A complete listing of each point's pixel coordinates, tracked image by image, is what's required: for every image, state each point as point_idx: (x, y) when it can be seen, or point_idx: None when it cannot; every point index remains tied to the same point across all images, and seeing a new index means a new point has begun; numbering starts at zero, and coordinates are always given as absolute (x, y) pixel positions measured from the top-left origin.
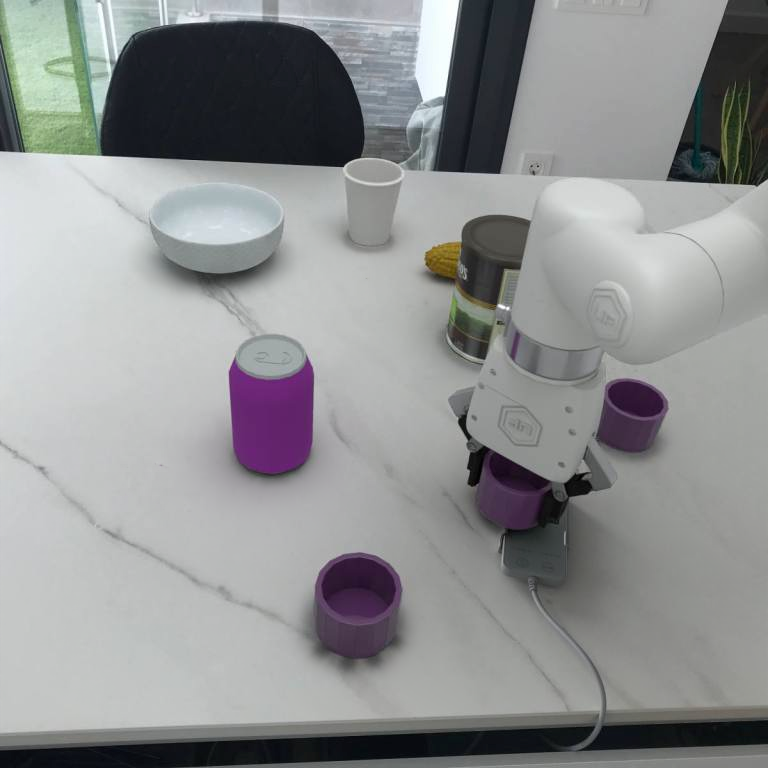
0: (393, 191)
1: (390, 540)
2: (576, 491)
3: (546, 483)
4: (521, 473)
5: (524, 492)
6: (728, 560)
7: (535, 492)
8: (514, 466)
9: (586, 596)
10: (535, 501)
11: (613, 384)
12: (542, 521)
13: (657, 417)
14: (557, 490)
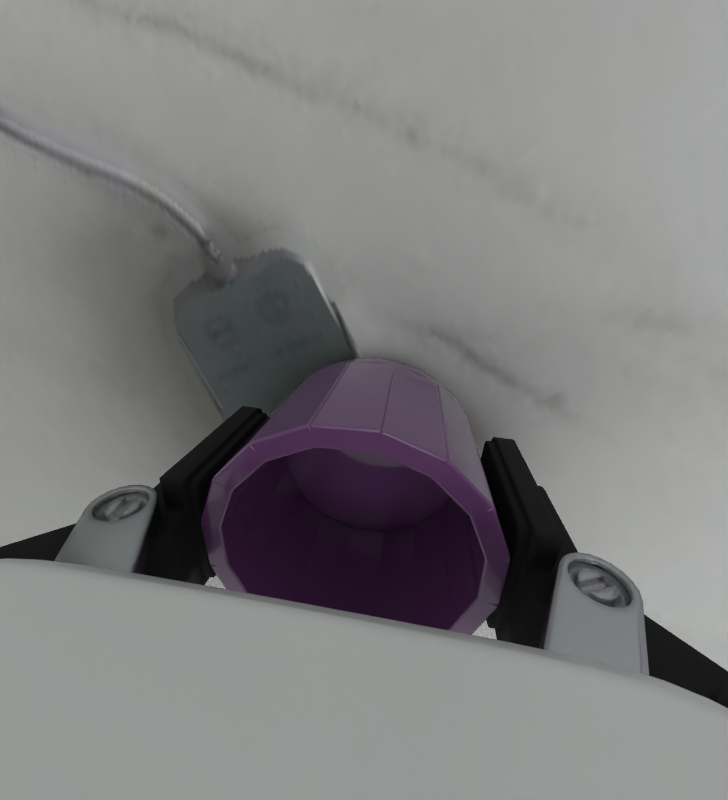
0: None
1: (675, 103)
2: (35, 549)
3: (288, 540)
4: (383, 543)
5: (264, 458)
6: (22, 527)
7: (231, 480)
8: (405, 556)
9: (114, 306)
10: (237, 450)
11: None
12: (240, 416)
13: None
14: (121, 521)
